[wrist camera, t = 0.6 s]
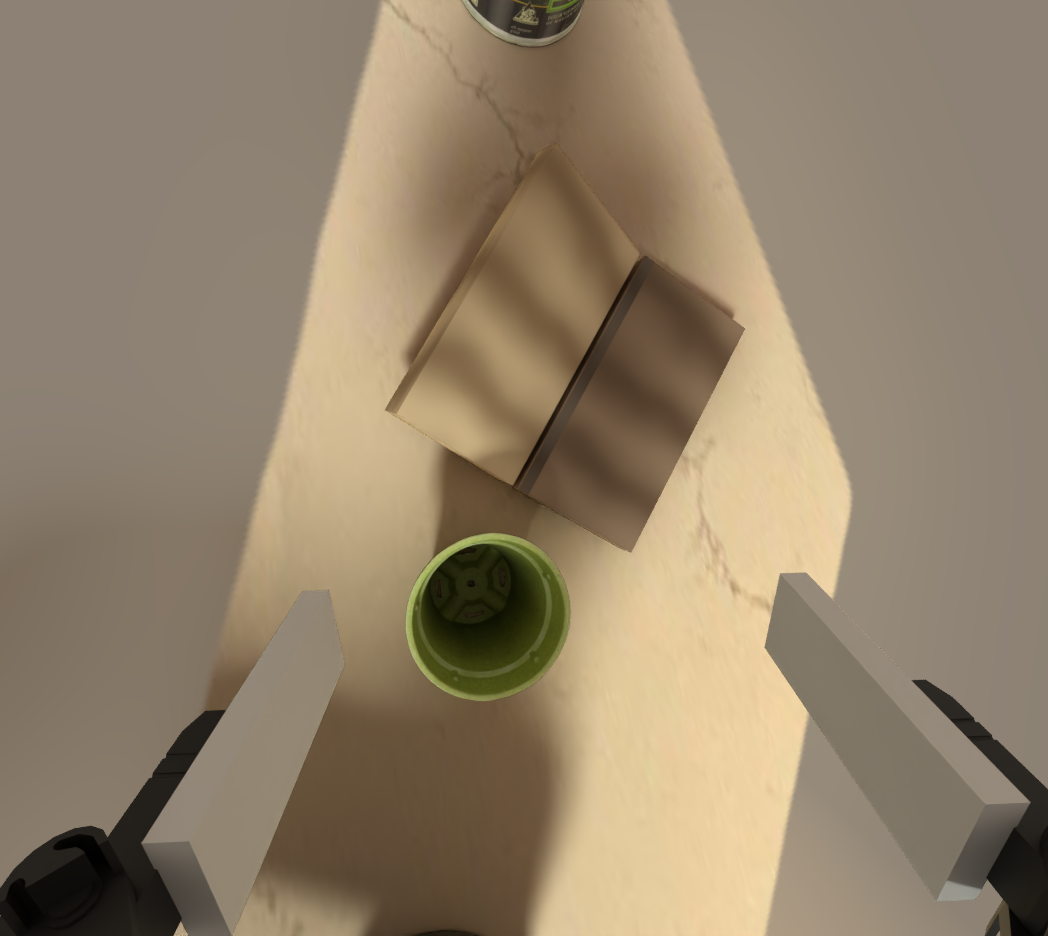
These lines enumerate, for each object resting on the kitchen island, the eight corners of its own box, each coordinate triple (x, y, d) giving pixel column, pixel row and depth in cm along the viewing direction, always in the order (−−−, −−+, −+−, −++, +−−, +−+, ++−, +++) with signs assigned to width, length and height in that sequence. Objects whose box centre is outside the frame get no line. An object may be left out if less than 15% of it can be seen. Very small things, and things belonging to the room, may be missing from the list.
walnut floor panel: (619, 548, 38) (631, 552, 36) (511, 487, 36) (517, 488, 34) (728, 335, 41) (745, 328, 39) (632, 266, 39) (645, 255, 37)
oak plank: (498, 479, 36) (512, 485, 35) (384, 410, 30) (396, 414, 29) (620, 257, 38) (639, 253, 37) (537, 152, 32) (556, 142, 31)
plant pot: (522, 507, 37) (557, 519, 28) (542, 629, 37) (582, 677, 29) (395, 531, 34) (392, 552, 26) (418, 660, 35) (421, 722, 26)
